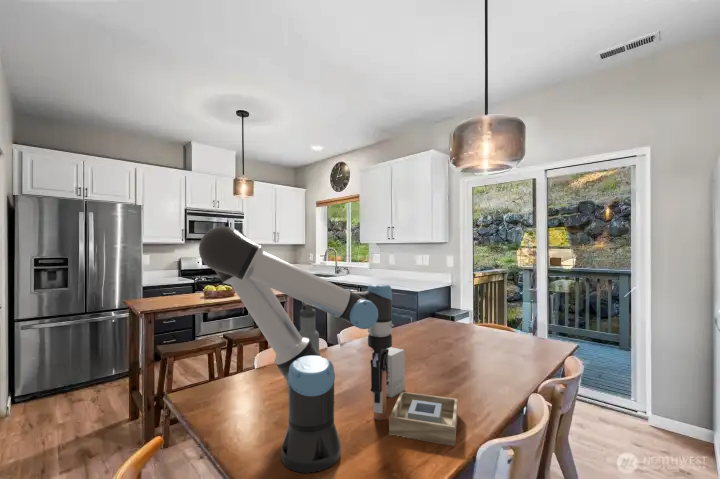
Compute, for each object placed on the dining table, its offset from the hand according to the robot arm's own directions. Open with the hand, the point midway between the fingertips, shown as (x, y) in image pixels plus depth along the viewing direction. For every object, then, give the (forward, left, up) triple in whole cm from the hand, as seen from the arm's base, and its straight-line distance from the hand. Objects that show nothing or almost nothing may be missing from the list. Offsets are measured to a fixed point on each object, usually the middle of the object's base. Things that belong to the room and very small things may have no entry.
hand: (380, 408), depth 108 cm
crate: (0, -14, -3) cm, 14 cm away
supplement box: (+20, +2, -3) cm, 20 cm away
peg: (0, 0, -3) cm, 3 cm away
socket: (0, -14, -3) cm, 14 cm away
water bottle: (+34, +42, -3) cm, 54 cm away
